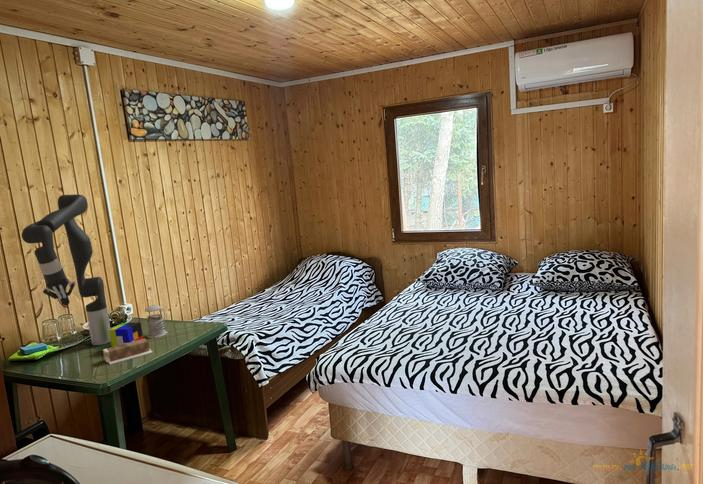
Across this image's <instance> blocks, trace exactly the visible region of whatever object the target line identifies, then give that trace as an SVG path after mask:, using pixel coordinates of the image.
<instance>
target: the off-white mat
mask: <svg viewBox="0 0 703 484" xmlns="http://www.w3.org/2000/svg"><path fill="white" fill-rule="evenodd" d="M149 350H150V351H147V352H143V353H140V354H136V355H132V356H129V357H125V358H122V359H118V360H115V361H111V362H107V363H108V365H110V366H111V365H114V364H118V363H122V362H126V361H128V360H132V359H135V358H139V357H142V356H143V357H144V356H147V355H150V354H153V351H152V349H151V348H150V347H149Z"/></svg>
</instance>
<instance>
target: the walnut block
mask: <svg viewBox="0 0 703 484" xmlns="http://www.w3.org/2000/svg"><path fill="white" fill-rule="evenodd" d="M149 348H150V345H149V341H148V340H147V338H143V339H141V340H137V341H133V342H130V343H126V344H122V345H118V346H114V347H112V346H111V347H108V348H104V349H102V352H103V359H104V361H105V362H106V363H108V362H111V361H115V360H118V359H122V358H125V357H129V356H132V355H136V354H140V353H143V352H147V351H150V350H151V349H150V350H149Z"/></svg>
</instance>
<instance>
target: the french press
mask: <svg viewBox="0 0 703 484" xmlns="http://www.w3.org/2000/svg"><path fill="white" fill-rule="evenodd" d="M147 289H148V290H149V292H150V294H152V291H151V290H153V287H151V286H150V287H147ZM152 298H153V297H152V295H150V299H151V300H153V299H152ZM156 311H158V312H160V313H158V314H157V313H156V314H155V313H154V312H156ZM144 312H146V313H152V312H153V314H151V315H149V316H147V317H146V324H147V325H146V326H147V330H148V334H147V336H146V337H147V338H149V339H153V338H160V337H163V336H165V335H167V334H168V331H166V329H165V322H166V321H167V319H168V314H167V311H166V309H163V307H162V306H161V305H154V304H153V302H151V305H149V306H148V307H146V308H145V309H144ZM161 312H163V316H162V314H161ZM166 333H167V334H166Z"/></svg>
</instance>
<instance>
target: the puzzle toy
mask: <svg viewBox="0 0 703 484" xmlns="http://www.w3.org/2000/svg"><path fill="white" fill-rule="evenodd" d="M110 328H111V327H110ZM109 334H110V340H111V342H110V345H111V347H114V346H118V345H122V344H126V343H130V342H133V341H137V340H141V339H144V336H143V335H144V334H143V328H142V323H141V322H122V323H120V324H118V325H116V326H114V327H112V328H111V329H109Z"/></svg>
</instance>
